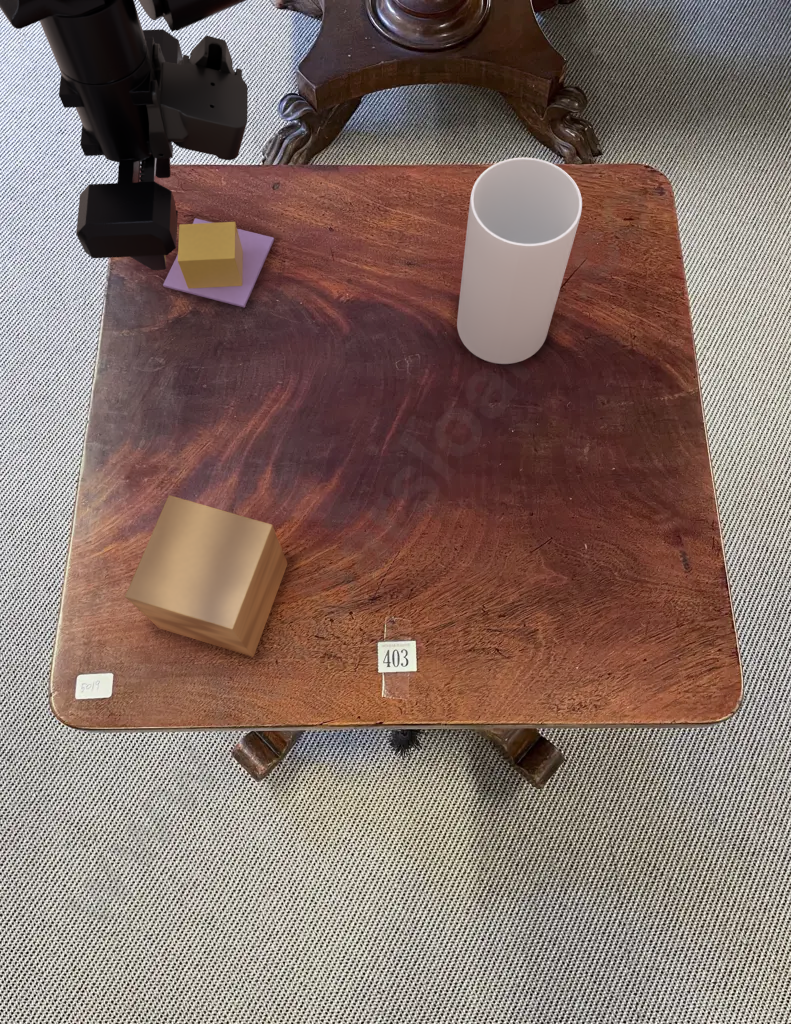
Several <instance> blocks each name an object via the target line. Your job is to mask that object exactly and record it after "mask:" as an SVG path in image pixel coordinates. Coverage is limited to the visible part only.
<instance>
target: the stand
mask: <svg viewBox="0 0 791 1024" xmlns="http://www.w3.org/2000/svg"><path fill="white" fill-rule="evenodd" d="M287 567H288V560H287V558H286V556H285V553H284V551H283V548H282V546H281V543H280V541H279V538H278V536H277V533H276V530H275V527H274V525H273V524H272V523H268V522H264V521H261V520H257V519H254V518H250V517H247V516H245V515H240V514H236V513H234V512H230V511H226V510H223V509H220V508H216V507H213V506H209V505H205V504H202V503H199V502H195V501H191V500H188V499H185V498H182V497H178V496H174V495H171V494H168V496H167V498H166V499H165V503H164V505H163V506H162V509H161V512H160V514H159V517H158V519H157V521H156V523H155V526H154V528H153V530H152V532H151V535H150V537H149V540H148V542H147V544H146V546H145V549H144V551H143V553H142V556H141V558H140V560H139V562H138V565H137V567H136V569H135V571H134V574H133V577H132V579H131V581H130V583H129V585H128V588H127V590H126V593H125V595H124V598H125V599H126V600H127V601H128V602H130V603H131V605H133V606H134V607H135V608H136V609H137V610H138V611H139V612H141V614H143V615H144V616H145V617H146V618H147V619H148V620H149V621H150V622H152V623H153V624H154V625H155V626H156V627H157V628H158V629H160V630H163V631H167V632H170V633H173V634H177V635H180V636H184V637H186V638H190V639H193V640H196V641H200V642H203V643H205V644H209V645H213V646H216V647H219V648H222V649H225V650H229V651H233V652H236V653H239V654H243V655H245V656H248V657H251V658H254V657H255V654H256V652H257V648H258V647H259V643H260V640H261V638H262V636H263V632H264V630H265V627H266V624H267V622H268V619H269V616H270V613H271V611H272V608H273V605H274V602H275V600H276V597H277V594H278V591H279V588H280V587H281V584H282V581H283V578H284V575H285V573H286V570H287Z"/></svg>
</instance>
